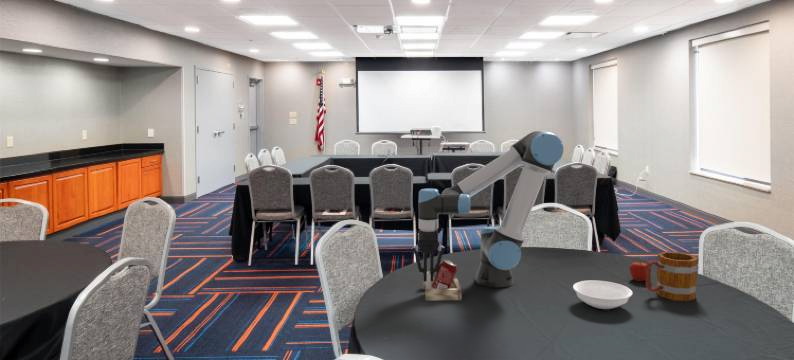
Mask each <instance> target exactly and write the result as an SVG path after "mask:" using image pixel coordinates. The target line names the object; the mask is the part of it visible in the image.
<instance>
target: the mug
mask: <svg viewBox="0 0 794 360" xmlns="http://www.w3.org/2000/svg"><path fill="white" fill-rule="evenodd" d="M698 263H699V258H697V257H696V256H695V255H693V254H688V253H683V252H681V251H680V252H679V251H678V252H677V251H663V252H660V253H657V261H655V260H650V261H648V262H647V263H646V264H647V265H646V280H645V286H646V288H647V290H648V291H650V292H655V293H656V294H657V295H658V296H659V297H661V298H665V299H668V300H671V301H677V302H678V301H680V302H691V301H693V300H695V299H697V294H696V286H697V282H698V275H697V274H698V273H697V272H698ZM652 265H655V266H656V267H657V268H656V269H657V270H656V286H654V287H651V279H652V278H651V273H650V268H651V267H652Z"/></svg>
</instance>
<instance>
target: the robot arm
mask: <svg viewBox="0 0 794 360" xmlns="http://www.w3.org/2000/svg"><path fill="white" fill-rule="evenodd" d="M562 141H563V140H562V139H561V138H560V137H559V136H558V135H557V134H555V133H552V132H549V131H540V130H535V131H531V132H529V133H527V134H526V135H525V136H523V137H522V138H520V139H519V140H518V141H516V142H515V143H513V144H512V145H509V146H510V147H509V150H507V151H506V152H504V153H502V154H501V155H500V156H498V157H497V158H495V159H493V160H492V161H490V162H489V163H486V164H485V165H484V166H482V167H481V168H480V169H477V170H476V171H475V172H473V173H471V174H470V175H469V176H467V177H465V178H464V179H462V180H461V181H459V182H457V183H456V184H454V185H453V186H451V187H447V188H445V189H444V190H443V191H442V192H441V194H440V193H439V190H438V189H437V188H421V189H420V190H419V191H418V201H417V202H418V204H417V205H418V206H417V207H418V229H419V230H418V241H417V243H416V245H414V246H412V247H411V250H412V252H413V253H414V256H415V260H416V263H417V268H418V272H419V273H423V275H422V276H423V277H422V280H423V279H424V281H426V289H431V281H433V278H434V273H437V272H438V269H439V266H440V263H442V262H441V261H442V257H443V254H444V252H445V251H446V248H445V246H444V245H441V244H440V242H439V230H438V229H439V215H463V214H465V215H466V214H469V213H470V212H471V198H472V197H473V196H475V195H476V194H478V193H479V192H481V191H482V190H484V189H486V188H487V187H489V186H490V185H492V184H494V183H495V182H497V181H498V180H500V179H501V178H503V177H505V176H506V175H508V174H509V173H512V172H513V171H514V170H515V169H517V168H519V167H520V166H521V167H522V170H521V172H520V175H519V177H518V179H517V183H516V185H515V188H514V190H513V193H512V195H511V197H510V200H509V203H508V206H507V208H506V210H505V213H504V216H503V218H502V221H501V223H500V224H499V225H498V226H485V227H482V228H481V229H480V263H479V266H478V270H477V272H476V275H475V282H476V284H478V285H481V286H483V287H486V288H496V289H497V288H500V289H501V288H506V287H507V288H508V287H510V286H512V285H513V284H514V275H513V273H512V270H511V269H513V268H515V267H516V266H517V265H518V264H519V263H520V261H521V259H522V251H521V248H522V246H523V243H524V241H525V238H524V236H523V232H524V229H525V227H526V225H527V222H528V219H529V218H530V215H531V213H532V209H533V207H534V205H535V203H536V200H537V197H538V195H539V193H540V190H541V188H542V185H543V183H544V180H545V177H546V176H547V175H549V174H550V173H552V171H553V168H554V167H555V164H557V163H558V162H559V161H560V160H561V159H562V157H563V154H564V149H565V148H564V143H563V142H562ZM419 249H420V251H421V253H422V255H423V256H422V257H423V258H422V259H423V260H422V261H423V262H422V263H423V265H422V264H421V259H420V256H419ZM437 250H438V254H437V256H436V261H435V265H434V260H435V259H434V257H435V256H434V255H435V253H436V251H437ZM428 254H429V271H428ZM422 266H423V267H422Z"/></svg>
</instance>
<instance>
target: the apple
mask: <svg viewBox="0 0 794 360" xmlns="http://www.w3.org/2000/svg"><path fill="white" fill-rule="evenodd" d="M646 265H647V263H646V262H641V261H635V262H632V263H631V264H630V266H629V274H630V276H631V278H632V279H633V280H634V281H637V282H646ZM651 272H652V269H651V268H650V274H651Z"/></svg>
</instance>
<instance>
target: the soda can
mask: <svg viewBox="0 0 794 360" xmlns="http://www.w3.org/2000/svg"><path fill="white" fill-rule="evenodd" d="M457 267H458V265H457V264H456V263H455V262H453V261H451V260H449V259H446V258H445V259H443V261H442V262H440V265H439V269H438V272H435V276H433V278H434V280H433V282H432V284H431V287H432V289H449V287H450V285H451V283H452V280H453V278H455V275H456V273H457V271H458V269H457Z"/></svg>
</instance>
